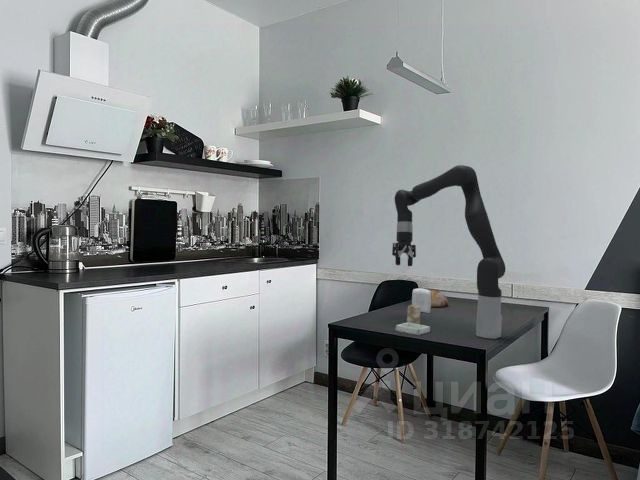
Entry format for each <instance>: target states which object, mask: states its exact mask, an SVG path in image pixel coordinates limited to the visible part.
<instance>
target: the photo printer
mask: <svg viewBox="0 0 640 480" xmlns="http://www.w3.org/2000/svg"><path fill="white" fill-rule="evenodd" d="M429 290H430V289H429ZM429 290H428V289H426V288H423V287H422V288H420V287H419V288H413V290H412V294H411V295H412V296H411V305H415V306H421V308H420V313H424V314H425V313H426V314H430V313H431V308H432V307H431V291H429Z"/></svg>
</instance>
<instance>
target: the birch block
mask: <svg viewBox="0 0 640 480" xmlns="http://www.w3.org/2000/svg"><path fill="white" fill-rule="evenodd" d="M420 308H421V306H415V305H412V304H410V305H408V306H407V316H406V317H407V318H406V323H407V322H409V323H414V324H419V325H421V324H420V322H421V312H420Z"/></svg>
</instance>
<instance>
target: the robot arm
mask: <svg viewBox="0 0 640 480" xmlns="http://www.w3.org/2000/svg"><path fill="white" fill-rule="evenodd" d="M450 187H461V190H462V192H463V195H464V200H465V206H464V207H465V208H464V218H465V222H466V225H467V229H468V232H469V234H470V235H471V237H472V239H473V240H474V242H475V243H476V245H477V246H478V248H479V249H480V253H481V255H482V259H481V260H480V261H479V262H478V265H477V268H476V288H477V292H478V293H477V294H478V295H477V307H476V308H477V309H476V310H477V313H476V330H475V332H476V333H475V335H476V336H477V337H479V338H484V339H494V340H497V339H499V338H501V337H502V327H503V326H502V323H503V314H501V310H502V309H501V308H502V307H501V306H502V289H501V288H500V287H499V279H501V278H502V277H504V276H505V274H506V264H505V262H504V259H503V257H502V255H501V252H500V250H499V247H498V245H497V242H496V239H495V235H494V231H493V229H492V226H491V222H490V219H489V215H488V212H487V210H486V207H485V204H484V201H483V197H482V194H481V192H480V186H479V181H478V175H477V172H476V170H475V169H474V168H473V167H471V166H468V165H464V164H463V165H462V164H458V165H455V166H453V167H451V168H450V169H449V170H446V171H444V172H443V173H442V174H440V175H437V176H436V177H435V178H432V179H430V180H428V181H425V182H422V183H419V184H417V185H415V186H414V187H412V189H411V190H407V189H406V190H405V189H398V190H397V191H396V192H395V195H394V204H395V205H394V206H395V209H396V213H397V217H396V219H397V222H396V242H393V243H392V253H391V254H392V256H394V257H395V265H396V266H401V256H402V255H403V254H405V255H406V256H407V266H408V267H413V261H414V260H413V259H414V258H417V257H416V256H417V250H416V249H417V247H416V244H412V242H413V232H414V231H413V230H414V229H413V212H412V210H411V209H409V207H410V206H413V205H415V204H417V203H419V202H420V201H421V200H424V199H427V198H429V197H433V196H434V195H436V194H437V193H439V192H440V191H442V190H444V189H446V188H450Z"/></svg>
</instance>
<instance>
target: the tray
mask: <svg viewBox="0 0 640 480" xmlns="http://www.w3.org/2000/svg"><path fill="white" fill-rule="evenodd" d="M395 332H399V333H404V332H405V333H406V334H409V335H414V334H415V335H414V336H421V334H422V335H425V334H428V333H430V332H431V326H430V325H424V324H420V325H419V324H414V323H409V322H407V321H406V322H403V323H400V324H395ZM405 333H404V334H405Z"/></svg>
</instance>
